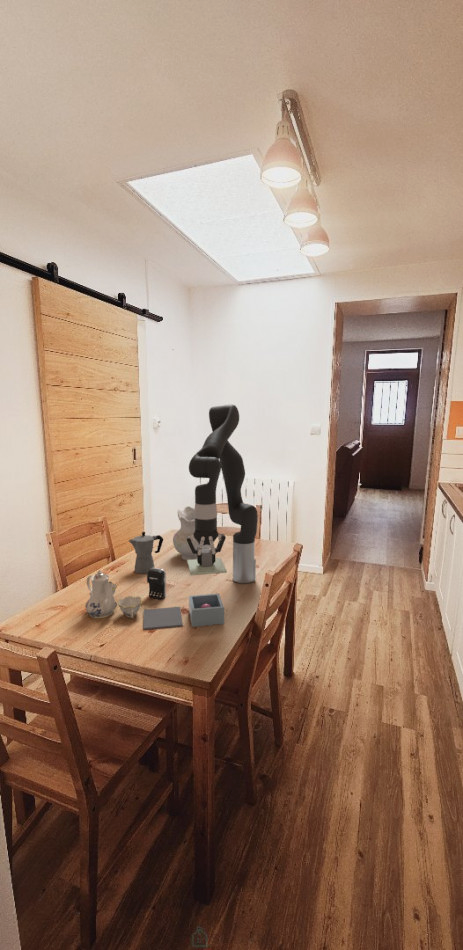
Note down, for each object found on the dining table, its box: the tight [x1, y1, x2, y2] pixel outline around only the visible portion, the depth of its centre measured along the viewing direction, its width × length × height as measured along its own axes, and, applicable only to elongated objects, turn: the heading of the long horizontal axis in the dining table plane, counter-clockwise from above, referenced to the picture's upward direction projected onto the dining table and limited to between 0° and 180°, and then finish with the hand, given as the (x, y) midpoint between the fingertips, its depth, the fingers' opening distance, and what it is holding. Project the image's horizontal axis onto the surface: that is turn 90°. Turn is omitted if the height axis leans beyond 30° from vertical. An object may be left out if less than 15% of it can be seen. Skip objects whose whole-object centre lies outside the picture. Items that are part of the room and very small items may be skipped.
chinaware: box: [84, 569, 143, 619], centre depth 150 cm, size 28×17×17 cm, turn 50°
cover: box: [186, 548, 228, 576], centre depth 142 cm, size 12×12×6 cm
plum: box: [201, 604, 211, 608], centre depth 145 cm, size 4×4×4 cm
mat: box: [142, 606, 184, 631], centre depth 145 cm, size 13×13×1 cm
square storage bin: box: [188, 593, 225, 628], centre depth 145 cm, size 11×11×6 cm
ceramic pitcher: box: [172, 506, 211, 561], centre depth 203 cm, size 22×20×25 cm
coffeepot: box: [128, 531, 164, 575], centre depth 187 cm, size 15×9×18 cm, turn 113°
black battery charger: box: [146, 567, 167, 600], centre depth 160 cm, size 7×4×11 cm, turn 70°
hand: (206, 563), depth 143 cm, fingers closed on cover, 3 cm apart
